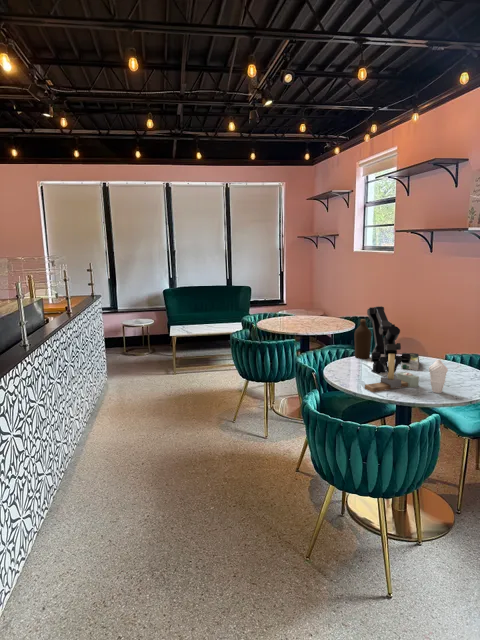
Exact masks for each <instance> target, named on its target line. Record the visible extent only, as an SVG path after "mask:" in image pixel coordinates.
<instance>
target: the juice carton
mask: <svg viewBox="0 0 480 640" xmlns="http://www.w3.org/2000/svg"><path fill="white" fill-rule="evenodd" d="M408 353H409V354H410V355H411V359H410V363H402V362H401V364H400V368H401V370H403V369H405V370H411V369H412V370H415V371H418V370H419V369H420V368H419V367H420V356H419V353H416V352H415V353H413V352H408ZM418 368H419V369H418Z"/></svg>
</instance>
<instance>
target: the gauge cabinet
mask: <svg viewBox="0 0 480 640" xmlns="http://www.w3.org/2000/svg"><path fill="white" fill-rule="evenodd" d="M396 378H397V379H400V380H402V381H405V382H407V383H408V388H417V387H419V382H420V377H419V376H417V375H414V374H413V373H411V372H406V371H401V372H396Z"/></svg>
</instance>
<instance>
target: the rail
mask: <svg viewBox="0 0 480 640" xmlns="http://www.w3.org/2000/svg"><path fill="white" fill-rule="evenodd" d="M406 387H408V383H407V382H405V381H402V380H401V387H397V388H390V385H389V384H387V383H384V382H381V381H380V382H375V383H368V384H364V390H367V391H369V392H371V393H374V392H376V393H377V392H382V391H387V390H388V391H389V390H394V389H400V388H401V389H402V388H406ZM408 388H409V387H408Z"/></svg>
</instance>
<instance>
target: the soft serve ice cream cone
mask: <svg viewBox="0 0 480 640" xmlns="http://www.w3.org/2000/svg"><path fill="white" fill-rule="evenodd" d="M428 371H429V375H430V377H429V378H430V379H429V380H430V385H431V391H432V392H433V393H436V394H440V393H443V390H444V386H445V383H446V378H447V377H446V376H447V373H448V371H449V369H448V367H447V366H446V365H445V363H443V362H442V360H441V359H439V358H438V359H436V360H435V361H434V362H433V363H432V364H431V365H429V367H428Z"/></svg>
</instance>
